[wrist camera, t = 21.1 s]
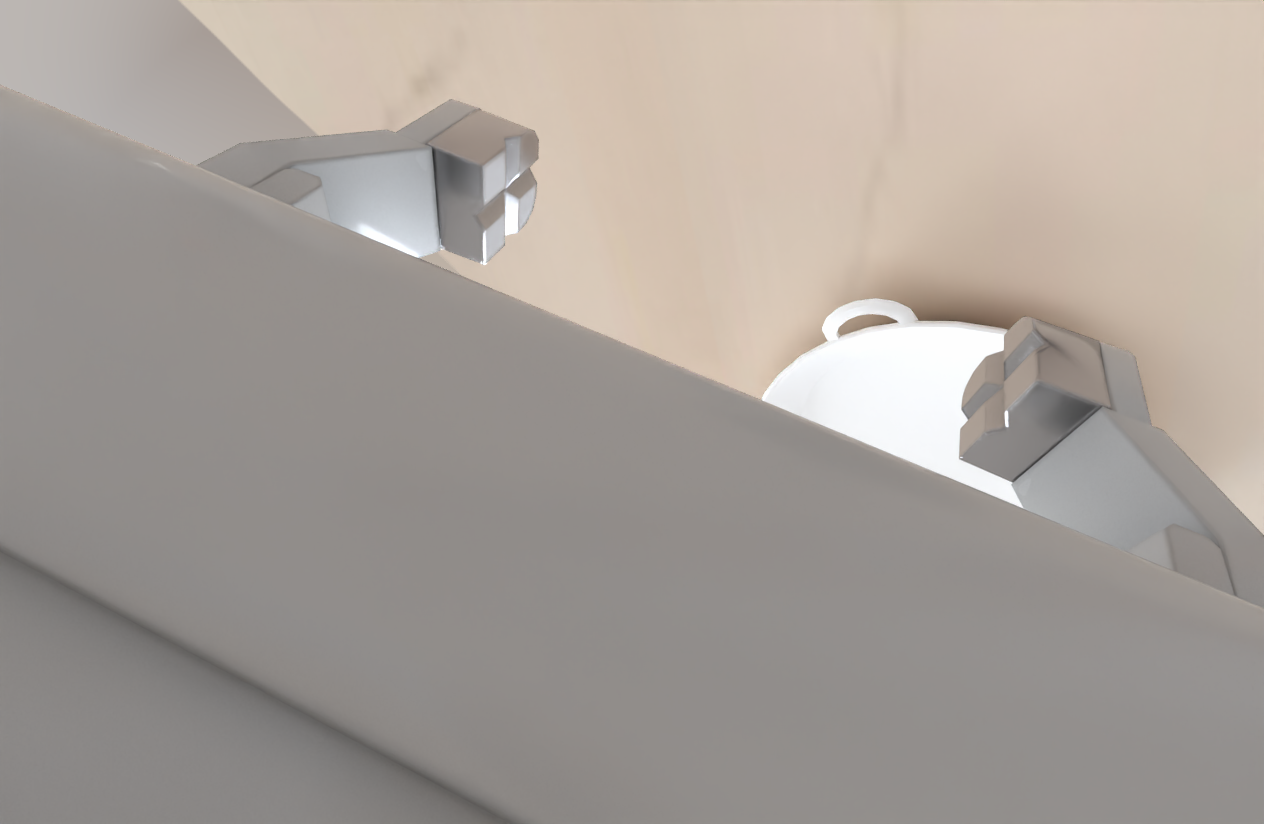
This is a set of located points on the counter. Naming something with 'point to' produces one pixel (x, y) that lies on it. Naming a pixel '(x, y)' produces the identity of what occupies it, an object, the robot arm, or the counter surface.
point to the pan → (895, 387)
